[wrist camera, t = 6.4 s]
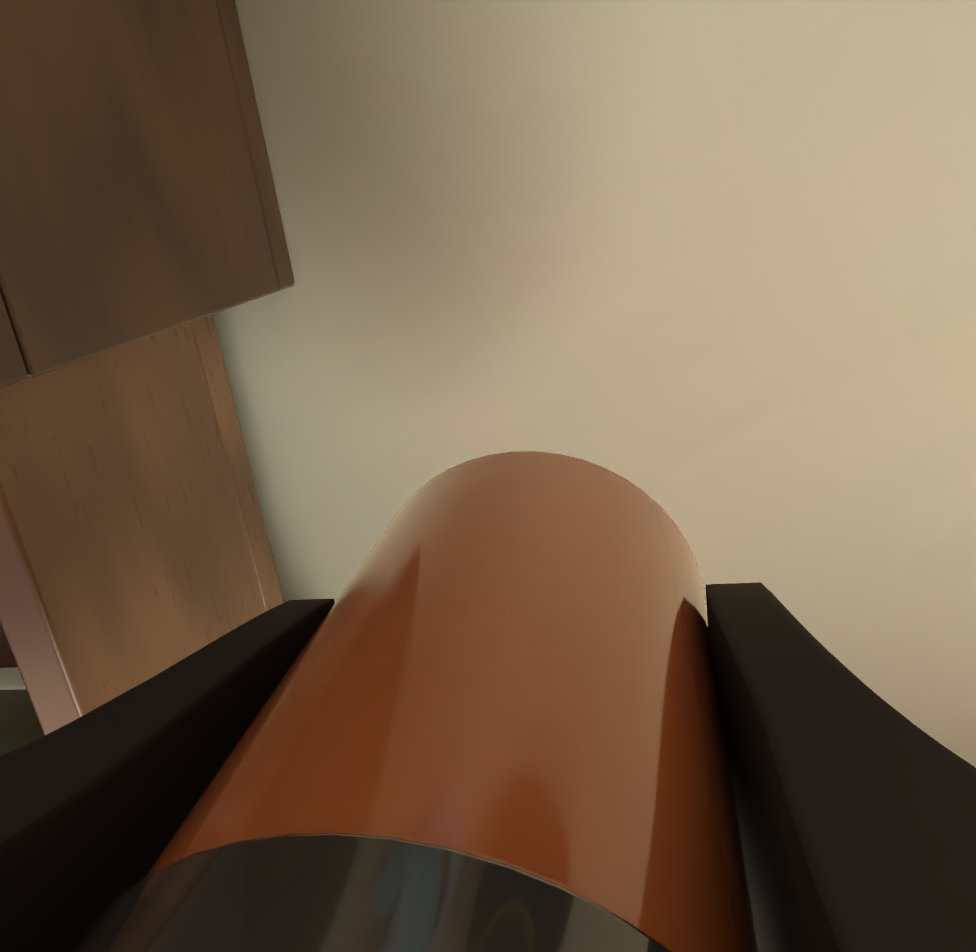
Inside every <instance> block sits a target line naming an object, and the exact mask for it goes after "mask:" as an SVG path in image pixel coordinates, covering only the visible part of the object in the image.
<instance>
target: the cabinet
mask: <svg viewBox="0 0 976 952" xmlns="http://www.w3.org/2000/svg"><path fill="white" fill-rule="evenodd" d="M293 285H294V278H293V274H292V269H291V264H290V260H289V255H288V250H287V246H286V241H285V236H284V231H283V227H282V222H281V217H280V213H279V208H278V203H277V199H276V194H275V189H274V185H273V180H272V175H271V171H270V166H269V161H268V157H267V152H266V147H265V143H264V138H263V133H262V129H261V124H260V119H259V114H258V110H257V105H256V100H255V96H254V91H253V86H252V82H251V77H250V72H249V68H248V63H247V58H246V54H245V49H244V44H243V40H242V35H241V30H240V26H239V21H238V16H237V12H236V7H235V2H234V0H0V388H3V387H5V386H8V385H11V384H14V383H17V382H20V381H22V380H23V379H25V378H32V377H36V376H39V375H41V374H44V373H47V372H50V371H53V370H56V369H58V368H61V367H64V366H67V365H70V364H73V363H75V362H78V361H81V360H84V359H87V358H90V357H92V356H95V355H98V354H101V353H104V352H107V351H109V350H112V349H115V348H118V347H121V346H124V345H126V344H129V343H132V342H135V341H138V340H141V339H143V338H146V337H149V336H152V335H155V334H158V333H160V332H163V331H166V330H169V329H172V328H175V327H177V326H180V325H183V324H186V323H189V322H192V321H194V320H197V319H200V318H203V317H206V316H209V315H211V314H214V313H217V312H220V311H223V310H226V309H228V308H231V307H234V306H237V305H240V304H243V303H245V302H248V301H251V300H254V299H257V298H260V297H262V296H265V295H268V294H271V293H274V292H276V291H279V290H282V289H285V288H288V287H291V286H293Z"/></svg>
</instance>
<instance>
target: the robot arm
mask: <svg viewBox="0 0 976 952" xmlns="http://www.w3.org/2000/svg"><path fill="white" fill-rule="evenodd" d="M706 599H707V619H708V631H709V638H710V645H711V651H712V658H713V665H714V672H715V678H716V683H717V688H718V693H719V698H720V703H721V709H722V716H723V722H724V729H725V736H726V742H727V749H728V756H729V762H730V769H731V776H732V782H733V789H734V795H735V802H736V809H737V815H738V822H739V829H740V835H741V842H742V848H743V855H744V862H745V868H746V875H747V882H748V888H749V895H750V902H751V908H752V915H753V921H754V928H755V935H756V941H757V948H758V952H976V768H975V767H974V766H972V765H971V764H969V763H968V762H966V761H965V760H963V759H962V758H960V757H959V756H957V755H956V754H954V753H953V752H951V751H950V750H948V749H947V748H945V747H944V746H943V745H941V744H940V743H938V742H937V741H936V740H934V739H933V738H932V737H930V736H929V735H927V734H926V733H925V732H923V731H922V730H921V729H919V728H918V727H917V726H915V725H914V724H913V723H911V722H910V721H909V720H908V719H906V718H905V717H904V716H903V715H901V714H900V713H899V712H898V711H896V710H895V709H894V708H893V707H891V706H890V705H889V704H888V703H886V702H885V701H884V700H883V699H881V698H880V697H879V696H878V695H877V694H875V693H874V692H873V691H872V690H871V689H870V688H868V687H867V686H866V685H865V684H864V683H863V682H862V681H861V680H859V679H858V678H857V677H856V676H855V675H854V674H853V673H852V672H851V671H850V670H848V669H847V668H846V667H845V666H844V665H843V664H842V663H841V662H840V661H839V660H837V659H836V658H835V657H834V656H833V655H832V654H831V653H830V652H829V651H828V650H827V649H826V648H825V647H824V646H823V645H822V644H821V643H819V642H818V641H817V640H816V639H815V638H814V637H813V636H812V635H811V634H810V633H809V632H808V631H807V630H806V629H805V628H804V627H803V625H802V624H801V623H800V622H799V621H798V620H797V619H796V618H795V617H794V616H793V615H792V614H791V613H790V612H789V611H788V610H787V609H786V608H785V607H784V606H783V605H782V603H781V602H780V601H779V600H778V599H777V598H776V597H775V596H774V595H773V594H772V593H771V592H770V591H769V590H768V589H767V588H766V587H765V586H764V585H763V584H761V583H737V584H711V585H706ZM334 604H335V602H334V599H314V600H290V601H288V602H285V603H283V604H281V605H278V606H276V607H274V608H272V609H270V610H268V611H266V612H264V613H262V614H260V615H258V616H256V617H255V618H253V619H251V620H249V621H247V622H246V623H244V624H242V625H240V626H239V627H237V628H235V629H233V630H232V631H230V632H228V633H227V634H225V635H223V636H222V637H220V638H218V639H216V640H215V641H213V642H211V643H210V644H208V645H206V646H205V647H203V648H201V649H199V650H198V651H196V652H194V653H193V654H191V655H189V656H188V657H186V658H184V659H183V660H181V661H179V662H177V663H176V664H174V665H172V666H171V667H169V668H167V669H166V670H164V671H162V672H161V673H159V674H157V675H155V676H154V677H152V678H150V679H148V680H147V681H145V682H143V683H141V684H139V685H138V686H136V687H134V688H132V689H130V690H128V691H127V692H125V693H123V694H121V695H119V696H118V697H116V698H114V699H112V700H110V701H109V702H107V703H105V704H103V705H101V706H99V707H98V708H96V709H94V710H92V711H90V712H89V713H87V714H85V715H83V716H81V717H80V718H78V719H76V720H74V721H72V722H70V723H68V724H66V725H64V726H63V727H61V728H59V729H57V730H55V731H53V732H51V733H49V734H47V735H45V736H43V737H41V738H39V739H37V740H35V741H33V742H31V743H28V744H26V745H24V746H22V747H20V748H18V749H16V750H14V751H11V752H9V753H7V754H5V755H3V756H1V757H0V952H73V951H74V949H75V948H76V947H77V945H78V944H79V942H80V941H81V940H82V938H83V937H84V935H85V934H86V933H87V931H88V930H89V928H90V927H91V926H92V924H93V923H94V921H95V920H96V919H97V918H98V917H99V916H100V915H101V914H102V913H103V912H104V911H105V910H106V909H107V908H108V907H109V906H110V905H111V904H112V903H113V902H114V901H115V900H116V899H117V898H118V897H119V896H120V895H121V894H122V893H124V892H125V891H127V890H128V889H130V888H131V887H133V886H134V885H136V884H137V883H139V882H140V881H142V880H143V879H144V878H145V877H146V875H147V874H148V872H149V871H150V870H151V868H152V867H153V865H154V864H155V862H156V861H157V859H158V858H159V857H160V855H161V854H162V852H163V851H164V849H165V848H166V846H167V845H168V844H169V842H170V841H171V839H172V838H173V836H174V835H175V833H176V832H177V831H178V829H179V828H180V826H181V825H182V823H183V822H184V820H185V819H186V818H187V816H188V815H189V813H190V812H191V810H192V809H193V807H194V806H195V805H196V803H197V802H198V800H199V799H200V797H201V796H202V794H203V793H204V792H205V790H206V789H207V787H208V786H209V784H210V783H211V781H212V780H213V779H214V777H215V776H216V774H217V773H218V771H219V770H220V768H221V767H222V766H223V764H224V763H225V761H226V760H227V758H228V757H229V755H230V754H231V753H232V751H233V750H234V748H235V747H236V745H237V744H238V742H239V741H240V740H241V738H242V737H243V735H244V734H245V732H246V731H247V729H248V728H249V726H250V725H251V724H252V722H253V721H254V719H255V718H256V716H257V715H258V713H259V712H260V711H261V709H262V708H263V706H264V705H265V703H266V702H267V700H268V699H269V698H270V696H271V695H272V693H273V692H274V690H275V689H276V687H277V686H278V685H279V683H280V682H281V680H282V679H283V677H284V676H285V674H286V673H287V672H288V670H289V669H290V667H291V666H292V664H293V663H294V661H295V660H296V659H297V657H298V656H299V654H300V653H301V651H302V650H303V648H304V647H305V646H306V644H307V643H308V641H309V640H310V638H311V637H312V635H313V634H314V633H315V631H316V630H317V628H318V627H319V625H320V624H321V622H322V621H323V620H324V618H325V617H326V615H327V614H328V612H329V611H330V609H331V608H332V607H333V605H334Z"/></svg>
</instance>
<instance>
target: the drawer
mask: <svg viewBox="0 0 976 952" xmlns="http://www.w3.org/2000/svg"><path fill="white" fill-rule="evenodd" d="M283 603H284V601H283V597H282V593H281V589H280V585H279V581H278V577H277V573H276V569H275V565H274V561H273V557H272V553H271V549H270V545H269V541H268V537H267V533H266V529H265V525H264V521H263V517H262V513H261V509H260V505H259V501H258V497H257V493H256V489H255V486H254V482H253V478H252V474H251V470H250V466H249V462H248V458H247V454H246V450H245V446H244V442H243V438H242V434H241V430H240V426H239V422H238V418H237V414H236V410H235V406H234V402H233V398H232V394H231V390H230V386H229V382H228V378H227V374H226V370H225V366H224V362H223V358H222V354H221V350H220V346H219V342H218V338H217V334H216V330H215V326H214V322H213V318H212V314H211V315H209V316H206V317H203V318H200V319H197V320H194V321H192V322H189V323H186V324H183V325H180V326H177V327H175V328H172V329H169V330H166V331H163V332H160V333H158V334H155V335H152V336H149V337H146V338H143V339H141V340H138V341H135V342H132V343H129V344H126V345H124V346H121V347H118V348H115V349H112V350H109V351H107V352H104V353H101V354H98V355H95V356H92V357H90V358H87V359H84V360H81V361H78V362H75V363H73V364H70V365H67V366H64V367H61V368H58V369H56V370H53V371H50V372H47V373H44V374H41V375H39V376H36V377H32V378H25V379H23V380H22V381H20V382H17V383H14V384H11V385H8V386H5V387H3V388H0V668H5V667H18V668H19V671H20V673H21V676H22V679H23V681H24V684H25V686H26V689H27V690H0V757H1V756H3V755H5V754H7V753H9V752H11V751H14V750H16V749H18V748H20V747H22V746H24V745H26V744H28V743H31V742H33V741H35V740H37V739H39V738H41V737H43V736H45V735H47V734H49V733H51V732H53V731H55V730H57V729H59V728H61V727H63V726H64V725H66V724H68V723H70V722H72V721H74V720H76V719H78V718H80V717H81V716H83V715H85V714H87V713H89V712H90V711H92V710H94V709H96V708H98V707H99V706H101V705H103V704H105V703H107V702H109V701H110V700H112V699H114V698H116V697H118V696H119V695H121V694H123V693H125V692H127V691H128V690H130V689H132V688H134V687H136V686H138V685H139V684H141V683H143V682H145V681H147V680H148V679H150V678H152V677H154V676H155V675H157V674H159V673H161V672H162V671H164V670H166V669H167V668H169V667H171V666H172V665H174V664H176V663H177V662H179V661H181V660H183V659H184V658H186V657H188V656H189V655H191V654H193V653H194V652H196V651H198V650H199V649H201V648H203V647H205V646H206V645H208V644H210V643H211V642H213V641H215V640H216V639H218V638H220V637H222V636H223V635H225V634H227V633H228V632H230V631H232V630H233V629H235V628H237V627H239V626H240V625H242V624H244V623H246V622H247V621H249V620H251V619H253V618H255V617H256V616H258V615H260V614H262V613H264V612H266V611H268V610H270V609H272V608H274V607H276V606H278V605H281V604H283Z"/></svg>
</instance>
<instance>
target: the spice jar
mask: <svg viewBox="0 0 976 952" xmlns="http://www.w3.org/2000/svg"><path fill="white" fill-rule="evenodd" d="M73 952H758V948H757V941H756V935H755V928H754V921H753V915H752V908H751V902H750V895H749V888H748V882H747V875H746V868H745V862H744V855H743V848H742V842H741V835H740V829H739V822H738V815H737V809H736V802H735V795H734V789H733V782H732V776H731V769H730V762H729V756H728V749H727V742H726V736H725V729H724V722H723V716H722V709H721V703H720V698H719V693H718V688H717V683H716V678H715V672H714V665H713V658H712V651H711V645H710V638H709V631H708V619H707V610H706V603H705V596H704V590H703V583H702V579H701V576H700V572H699V569H698V565H697V562H696V560H695V558H694V556H693V553H692V551H691V549H690V547H689V545H688V543H687V541H686V539H685V538H684V536H683V535H682V533H681V532H680V530H679V528H678V527H677V525H676V524H675V523H674V522H673V520H672V519H671V518H670V517H669V516H668V515H667V513H666V512H665V511H664V510H663V509H662V508H661V507H660V506H659V505H658V504H657V503H656V502H655V501H654V500H653V499H652V498H650V497H649V496H648V495H647V494H646V493H645V492H644V491H642V490H641V489H639V488H638V487H636V486H635V485H633V484H632V483H631V482H629V481H628V480H626V479H625V478H623V477H621V476H619V475H617V474H615V473H613V472H611V471H609V470H607V469H605V468H603V467H601V466H598V465H595V464H593V463H590V462H587V461H584V460H582V459H577V458H573V457H569V456H565V455H561V454H553V453H545V452H507V453H500V454H493V455H488V456H484V457H481V458H477V459H473V460H470V461H467V462H465V463H462V464H460V465H457V466H455V467H453V468H450V469H448V470H446V471H445V472H443V473H441V474H440V475H438V476H436V477H435V478H433V479H431V480H430V481H429V482H427V483H426V484H425V485H424V486H422V487H421V488H420V489H419V490H418V491H416V492H415V493H414V494H413V495H412V496H411V497H410V498H409V499H408V501H407V502H406V503H405V504H404V505H403V506H402V507H401V508H400V510H399V511H398V513H397V514H396V516H395V517H394V518H393V520H392V521H391V523H390V524H389V526H388V527H387V529H386V530H385V531H384V533H383V534H382V536H381V537H380V539H379V540H378V542H377V543H376V544H375V546H374V547H373V549H372V550H371V552H370V553H369V555H368V556H367V557H366V559H365V560H364V562H363V563H362V565H361V566H360V568H359V569H358V570H357V572H356V573H355V575H354V576H353V578H352V579H351V581H350V582H349V583H348V585H347V586H346V588H345V589H344V591H343V592H342V594H341V595H340V596H339V598H338V599H337V601H336V602H335V604H334V605H333V607H332V608H331V609H330V611H329V612H328V614H327V615H326V617H325V618H324V620H323V621H322V622H321V624H320V625H319V627H318V628H317V630H316V631H315V633H314V634H313V635H312V637H311V638H310V640H309V641H308V643H307V644H306V646H305V647H304V648H303V650H302V651H301V653H300V654H299V656H298V657H297V659H296V660H295V661H294V663H293V664H292V666H291V667H290V669H289V670H288V672H287V673H286V674H285V676H284V677H283V679H282V680H281V682H280V683H279V685H278V686H277V687H276V689H275V690H274V692H273V693H272V695H271V696H270V698H269V699H268V700H267V702H266V703H265V705H264V706H263V708H262V709H261V711H260V712H259V713H258V715H257V716H256V718H255V719H254V721H253V722H252V724H251V725H250V726H249V728H248V729H247V731H246V732H245V734H244V735H243V737H242V738H241V740H240V741H239V742H238V744H237V745H236V747H235V748H234V750H233V751H232V753H231V754H230V755H229V757H228V758H227V760H226V761H225V763H224V764H223V766H222V767H221V768H220V770H219V771H218V773H217V774H216V776H215V777H214V779H213V780H212V781H211V783H210V784H209V786H208V787H207V789H206V790H205V792H204V793H203V794H202V796H201V797H200V799H199V800H198V802H197V803H196V805H195V806H194V807H193V809H192V810H191V812H190V813H189V815H188V816H187V818H186V819H185V820H184V822H183V823H182V825H181V826H180V828H179V829H178V831H177V832H176V833H175V835H174V836H173V838H172V839H171V841H170V842H169V844H168V845H167V846H166V848H165V849H164V851H163V852H162V854H161V855H160V857H159V858H158V859H157V861H156V862H155V864H154V865H153V867H152V868H151V870H150V871H149V872H148V874H147V875H146V877H145V878H144V879H143V880H142V881H140V882H139V883H137V884H136V885H134V886H133V887H131V888H130V889H128V890H127V891H125V892H124V893H122V894H121V895H120V896H119V897H118V898H117V899H116V900H115V901H114V902H113V903H112V904H111V905H110V906H109V907H108V908H107V909H106V910H105V911H104V912H103V913H102V914H101V915H100V916H99V917H98V918H97V919H96V920H95V921H94V923H93V924H92V926H91V927H90V928H89V930H88V931H87V933H86V934H85V935H84V937H83V938H82V940H81V941H80V942H79V944H78V945H77V947H76V948H75V949H74V951H73Z"/></svg>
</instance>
